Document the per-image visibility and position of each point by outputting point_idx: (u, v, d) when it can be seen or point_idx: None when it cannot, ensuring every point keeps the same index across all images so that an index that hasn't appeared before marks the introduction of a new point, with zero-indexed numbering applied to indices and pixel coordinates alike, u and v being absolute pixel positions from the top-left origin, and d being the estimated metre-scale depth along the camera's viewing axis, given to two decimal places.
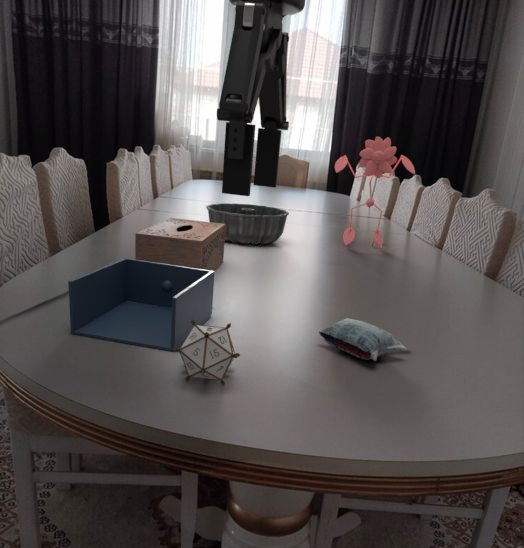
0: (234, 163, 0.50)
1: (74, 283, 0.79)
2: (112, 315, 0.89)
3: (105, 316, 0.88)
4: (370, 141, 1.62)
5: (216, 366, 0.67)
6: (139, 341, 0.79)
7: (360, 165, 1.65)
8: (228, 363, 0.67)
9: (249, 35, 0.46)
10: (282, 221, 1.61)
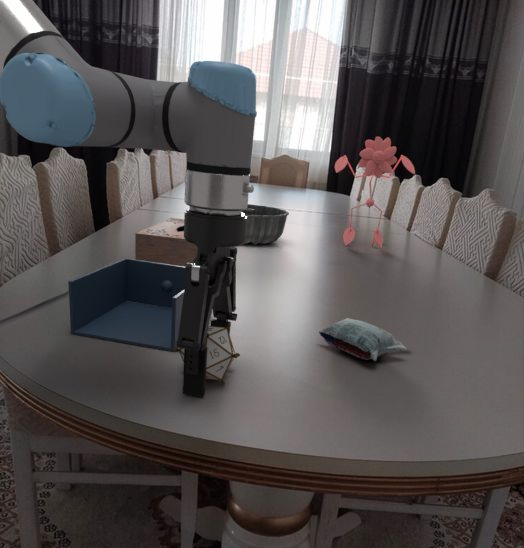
0: (191, 374, 0.64)
1: (74, 283, 0.79)
2: (112, 315, 0.89)
3: (105, 316, 0.88)
4: (370, 141, 1.62)
5: (216, 366, 0.67)
6: (139, 341, 0.79)
7: (360, 165, 1.65)
8: (228, 363, 0.67)
9: (197, 290, 0.59)
10: (282, 221, 1.61)
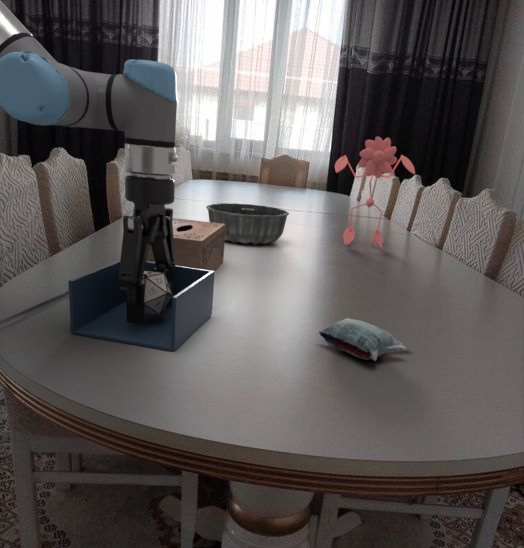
0: (132, 305, 0.82)
1: (74, 283, 0.79)
2: (112, 315, 0.89)
3: (105, 316, 0.88)
4: (370, 141, 1.62)
5: (153, 301, 0.84)
6: (139, 341, 0.79)
7: (360, 165, 1.65)
8: (164, 300, 0.85)
9: (132, 236, 0.76)
10: (282, 221, 1.61)
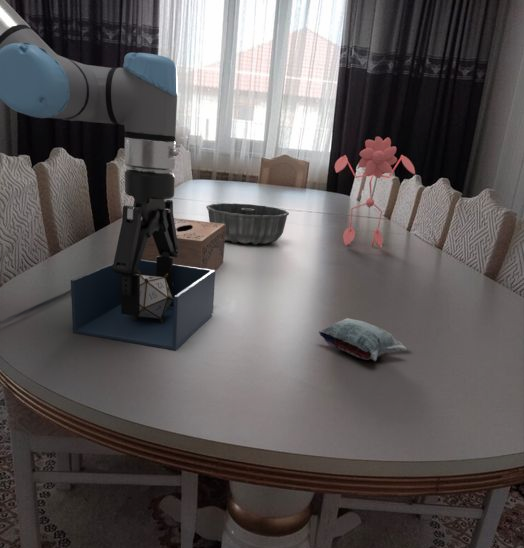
0: (127, 296, 0.80)
1: (76, 282, 0.79)
2: (113, 314, 0.90)
3: (107, 315, 0.89)
4: (370, 141, 1.62)
5: (154, 305, 0.85)
6: (141, 340, 0.80)
7: (360, 165, 1.65)
8: (164, 304, 0.86)
9: (131, 226, 0.75)
10: (282, 221, 1.61)
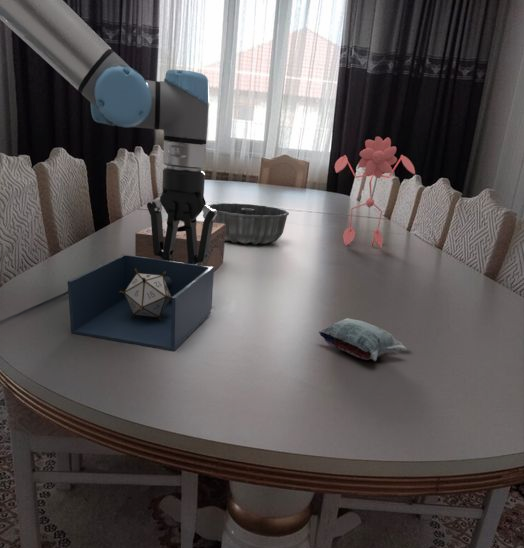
0: None
1: (73, 283, 0.79)
2: (112, 313, 0.89)
3: (105, 314, 0.88)
4: (370, 141, 1.62)
5: (152, 304, 0.85)
6: (139, 340, 0.80)
7: (360, 165, 1.65)
8: (163, 303, 0.86)
9: None
10: (282, 221, 1.61)
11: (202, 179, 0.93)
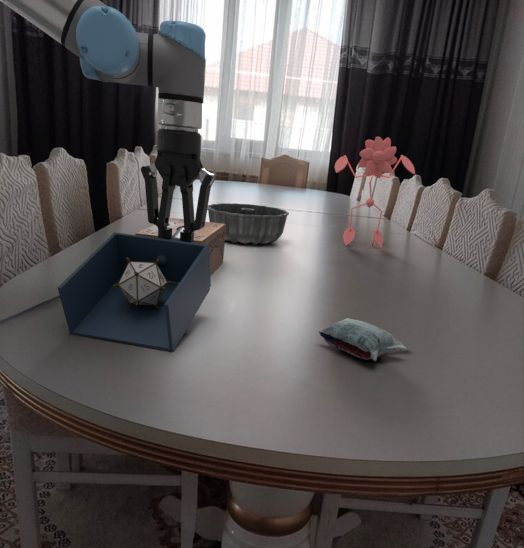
0: None
1: (64, 288, 0.76)
2: (109, 301, 0.87)
3: (102, 303, 0.87)
4: (370, 141, 1.62)
5: (148, 297, 0.82)
6: (137, 341, 0.79)
7: (360, 165, 1.65)
8: (158, 293, 0.83)
9: None
10: (282, 221, 1.61)
11: (199, 140, 0.88)
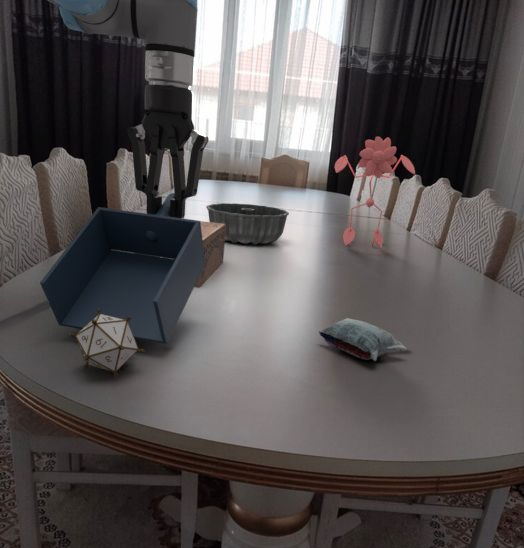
0: None
1: (47, 282, 0.72)
2: (98, 284, 0.83)
3: (91, 287, 0.82)
4: (370, 141, 1.62)
5: (130, 334, 0.68)
6: None
7: (360, 165, 1.65)
8: (133, 347, 0.68)
9: None
10: (282, 221, 1.61)
11: (190, 98, 0.81)
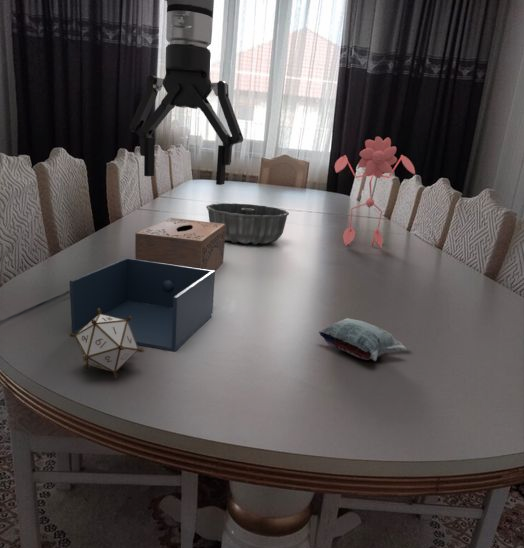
0: None
1: (75, 283, 0.79)
2: (113, 315, 0.89)
3: None
4: (370, 141, 1.62)
5: (130, 334, 0.68)
6: (140, 341, 0.80)
7: (360, 165, 1.65)
8: (132, 347, 0.68)
9: None
10: (282, 221, 1.61)
11: (208, 57, 0.85)
